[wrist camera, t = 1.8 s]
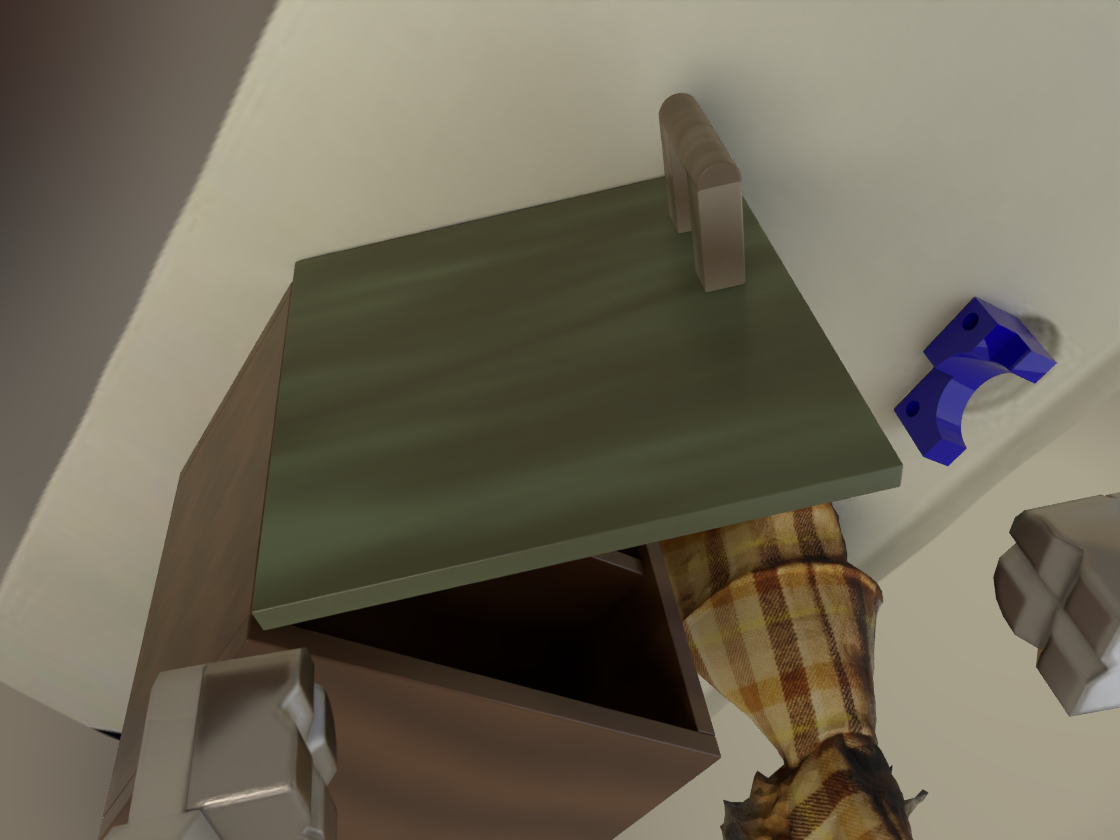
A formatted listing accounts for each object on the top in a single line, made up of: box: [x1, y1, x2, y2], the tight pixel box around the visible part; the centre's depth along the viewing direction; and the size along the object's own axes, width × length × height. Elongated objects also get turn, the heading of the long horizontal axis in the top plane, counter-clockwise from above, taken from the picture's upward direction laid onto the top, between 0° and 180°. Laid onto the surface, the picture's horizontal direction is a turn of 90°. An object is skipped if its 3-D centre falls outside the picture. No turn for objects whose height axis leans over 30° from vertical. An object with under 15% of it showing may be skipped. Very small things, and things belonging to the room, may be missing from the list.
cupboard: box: [98, 282, 721, 840], centre depth 44 cm, size 14×20×20 cm
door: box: [252, 93, 903, 630], centre depth 34 cm, size 6×20×20 cm, turn 100°
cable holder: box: [894, 297, 1057, 466], centre depth 51 cm, size 8×4×4 cm, turn 151°
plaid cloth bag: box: [659, 502, 928, 840], centre depth 51 cm, size 14×14×25 cm
